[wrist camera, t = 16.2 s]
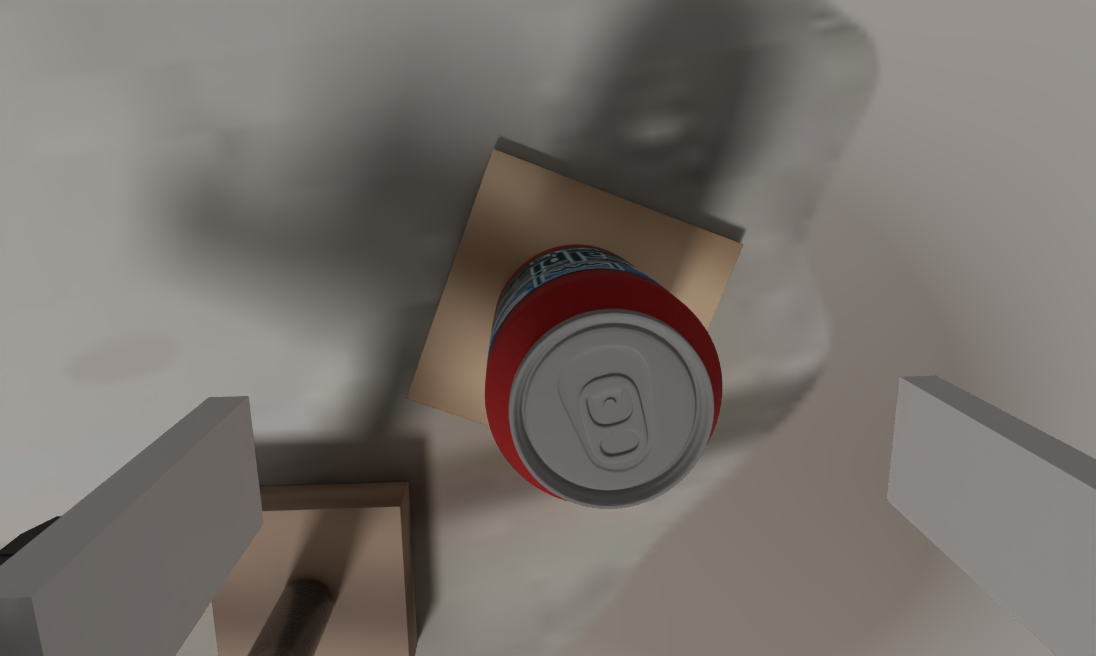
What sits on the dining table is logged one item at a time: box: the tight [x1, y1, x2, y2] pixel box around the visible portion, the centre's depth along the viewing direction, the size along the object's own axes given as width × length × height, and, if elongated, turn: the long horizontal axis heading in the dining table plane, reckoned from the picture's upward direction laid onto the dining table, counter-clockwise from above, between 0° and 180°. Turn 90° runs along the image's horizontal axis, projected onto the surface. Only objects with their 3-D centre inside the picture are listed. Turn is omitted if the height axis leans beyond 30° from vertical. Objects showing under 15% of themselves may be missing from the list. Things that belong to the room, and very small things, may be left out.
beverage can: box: [485, 244, 722, 509], centre depth 24 cm, size 7×7×12 cm
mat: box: [406, 149, 743, 427], centre depth 31 cm, size 11×11×1 cm
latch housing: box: [212, 481, 418, 656], centre depth 32 cm, size 8×8×2 cm
